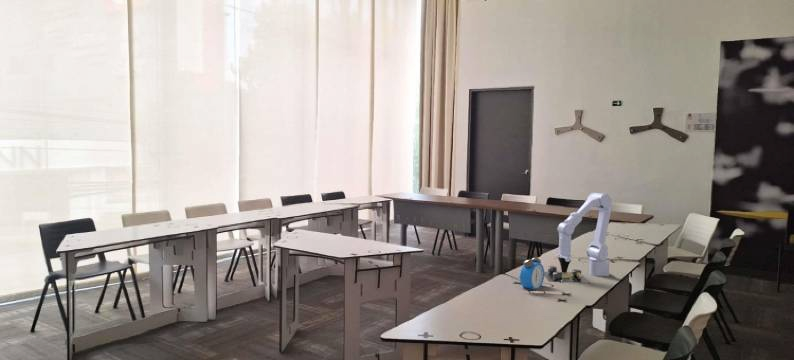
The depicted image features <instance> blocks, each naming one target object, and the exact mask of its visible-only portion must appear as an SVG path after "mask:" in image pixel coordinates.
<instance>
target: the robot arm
mask: <svg viewBox="0 0 794 360" xmlns="http://www.w3.org/2000/svg"><path fill="white" fill-rule="evenodd" d="M612 200H613V199H612V197H610V195H609V194H608V193H599V192H596V191H594V192H591V193H590V194H589V195H588V196H587V200H586V201H585V202H584V203H583V204H582V205H581V206H580V208H579V209H578V210H577V211H575V212H571V213H570V214H569V216H568V217H567V218H566V219H565V220H564V221H562V222H560V223H559V224H558V226H557V227H556V230H557V231H556V232H557V233H558V236H559V237H558V239H559V242H558V253H557V254H556V255H555V256H556V257H558V261H559V265H560V270H561V272H562V273H567V272H568V270H569V266H570V263H571V262H572V260H571V257H572V251H571V249H572V248H571V247H572V235H573V234H574V231H575V229H576V227H577V226H578V225H579V224H580V223H581V222H582V221H583V217H584V215H586V214H587V213H588V212H589V211H590V210H591V209H592V208H597V210H598V217H597V222H596V227H595V233H594V237H593V240H592V241H591V242H590V243H589V246H588V248H586V254H587V256H588V259H589V270H588V271H589V272H588V274H589V275H590V276H595V277H609V276H610V261H609V260H608V255H609V253H608V246H607V244H606V243H605V242H606V237H607V233H608V230H609V229H608V228H609V224H610V223H609V222H610V218H611V214H612Z"/></svg>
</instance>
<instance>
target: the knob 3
mask: <svg viewBox="0 0 794 360" xmlns="http://www.w3.org/2000/svg"><path fill="white" fill-rule="evenodd" d="M571 271H572V274H573V277H575V278H582V275H583V274H582V270H581V269H572V270H571ZM581 274H582V275H581Z"/></svg>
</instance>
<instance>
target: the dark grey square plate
mask: <svg viewBox="0 0 794 360" xmlns="http://www.w3.org/2000/svg"><path fill="white" fill-rule="evenodd" d="M560 272H561V273H562V271H560ZM562 274H572V272H571V271H570V272H569V271H567V273H562ZM581 275H582V278H575V277H572V278H562V280H553V274H549V273H548V271H544V278H545V279H546V281H548V282H549V283H581V284H582V283H585V284H586V283H587V284H588V283H589V284H590V281H589V280H588V279H587V278H586V276H584V275H583V274H582V273H581Z"/></svg>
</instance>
